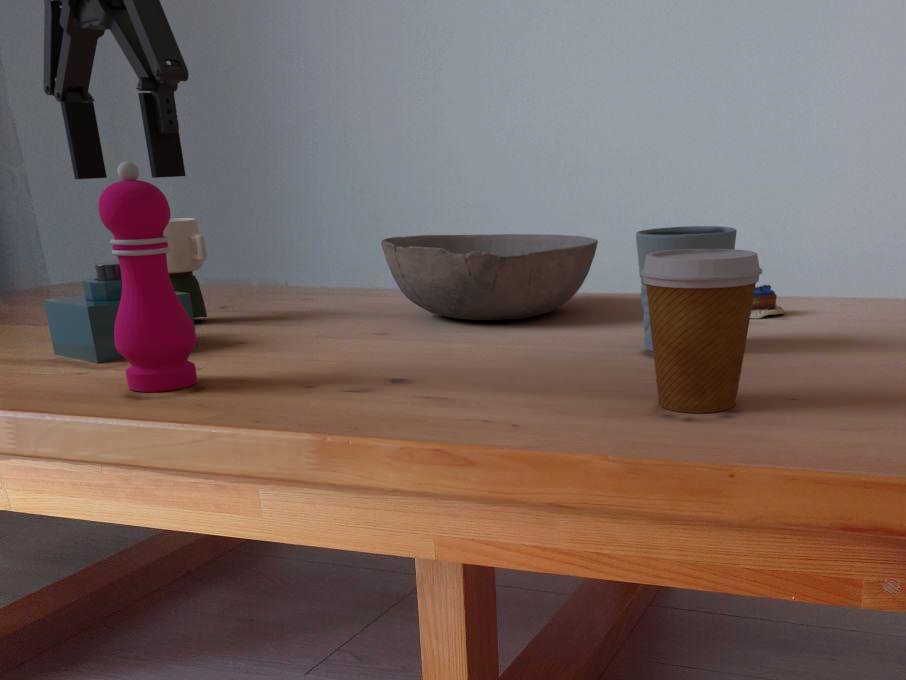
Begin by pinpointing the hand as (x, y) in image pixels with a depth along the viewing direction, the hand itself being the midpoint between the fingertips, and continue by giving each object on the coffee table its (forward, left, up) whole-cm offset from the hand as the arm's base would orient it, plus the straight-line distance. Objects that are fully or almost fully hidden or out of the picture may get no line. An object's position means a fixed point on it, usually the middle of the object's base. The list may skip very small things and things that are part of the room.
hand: (128, 178), depth 89 cm
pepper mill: (0, 0, -19) cm, 19 cm away
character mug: (+23, +34, -19) cm, 45 cm away
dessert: (+67, -26, -19) cm, 74 cm away
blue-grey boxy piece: (+8, +21, -19) cm, 29 cm away
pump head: (+8, +21, -11) cm, 25 cm away
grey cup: (+43, -31, -19) cm, 56 cm away
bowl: (+49, +3, -19) cm, 53 cm away
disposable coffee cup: (+22, -46, -19) cm, 54 cm away
